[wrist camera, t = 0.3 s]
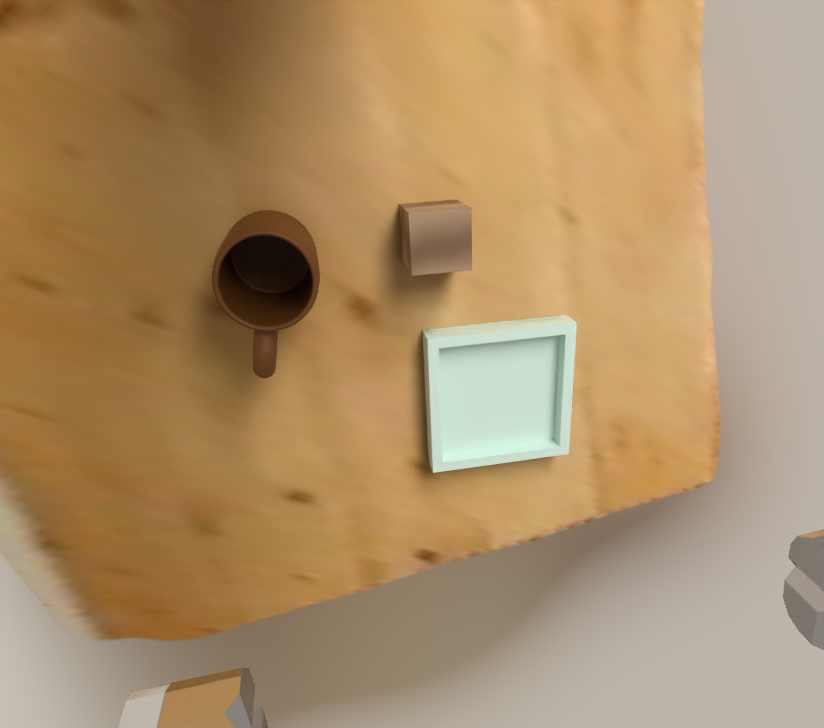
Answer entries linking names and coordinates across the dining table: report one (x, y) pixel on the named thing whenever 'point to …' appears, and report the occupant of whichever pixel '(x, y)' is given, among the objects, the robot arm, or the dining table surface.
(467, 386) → the tray
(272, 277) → the mug
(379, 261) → the dining table surface
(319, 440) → the dining table surface
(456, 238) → the block
